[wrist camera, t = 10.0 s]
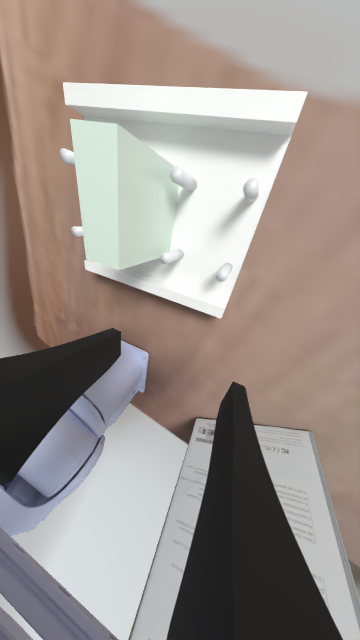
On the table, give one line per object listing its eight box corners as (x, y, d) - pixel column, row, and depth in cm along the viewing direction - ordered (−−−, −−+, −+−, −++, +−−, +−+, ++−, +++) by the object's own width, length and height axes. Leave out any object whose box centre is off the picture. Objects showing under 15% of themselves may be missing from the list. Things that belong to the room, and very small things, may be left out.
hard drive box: (210, 446, 30) (153, 707, 13) (195, 415, 27) (104, 690, 11) (321, 468, 22) (498, 1140, 6) (314, 429, 20) (582, 1382, 3)
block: (169, 254, 16) (119, 270, 10) (146, 248, 16) (86, 259, 11) (181, 171, 12) (117, 123, 7) (152, 166, 13) (70, 118, 7)
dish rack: (225, 307, 17) (217, 326, 14) (102, 265, 20) (73, 272, 17) (297, 119, 10) (316, 67, 7) (92, 104, 13) (39, 65, 10)
